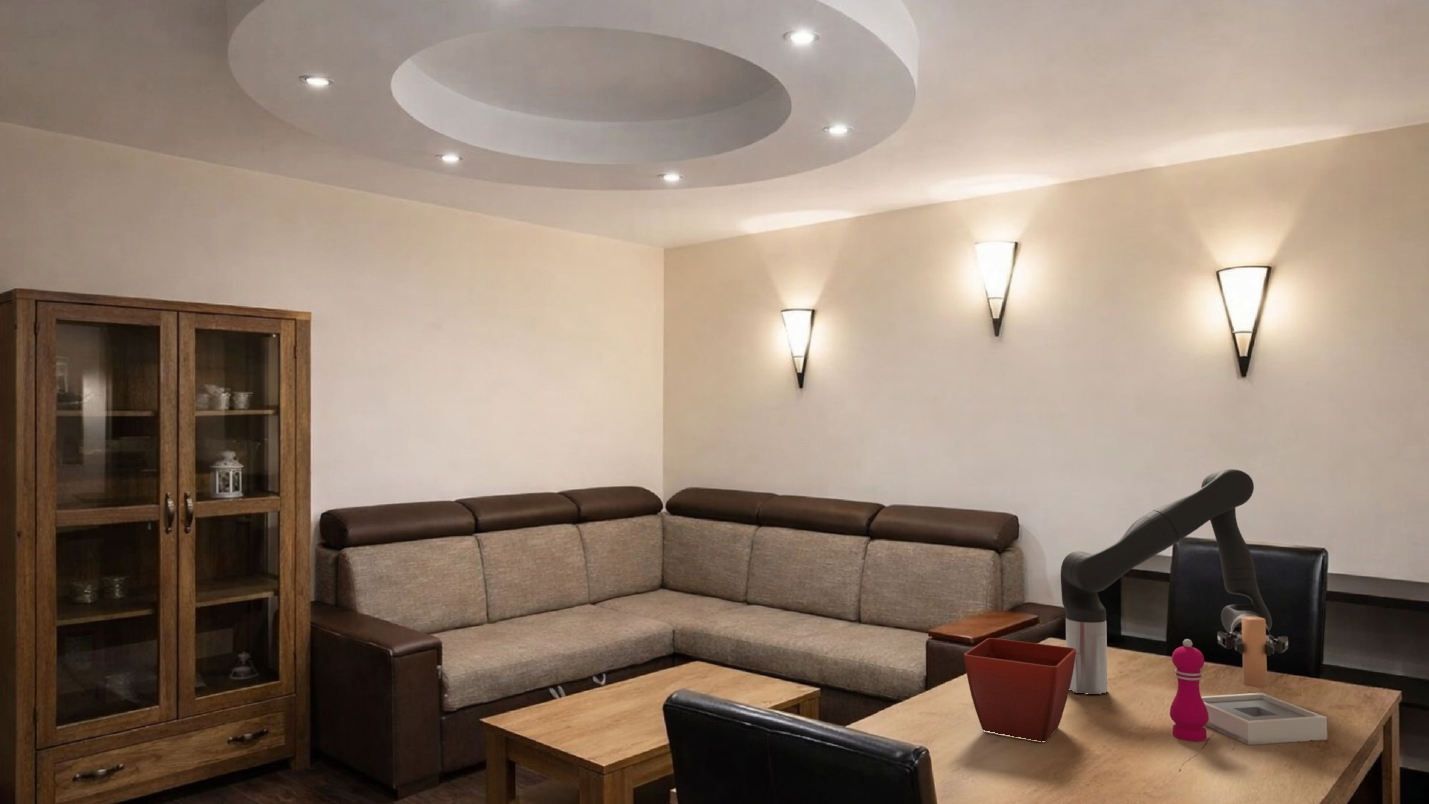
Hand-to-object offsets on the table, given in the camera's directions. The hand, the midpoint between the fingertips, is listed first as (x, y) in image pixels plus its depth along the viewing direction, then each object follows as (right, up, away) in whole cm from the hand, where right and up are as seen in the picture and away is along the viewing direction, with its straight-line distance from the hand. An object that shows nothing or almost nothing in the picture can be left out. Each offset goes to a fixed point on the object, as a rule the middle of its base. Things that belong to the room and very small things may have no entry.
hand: (1255, 649), depth 199 cm
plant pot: (-48, -18, +2) cm, 52 cm away
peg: (+1, -8, +2) cm, 8 cm away
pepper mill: (-15, -17, -3) cm, 23 cm away
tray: (+1, -17, +2) cm, 17 cm away
